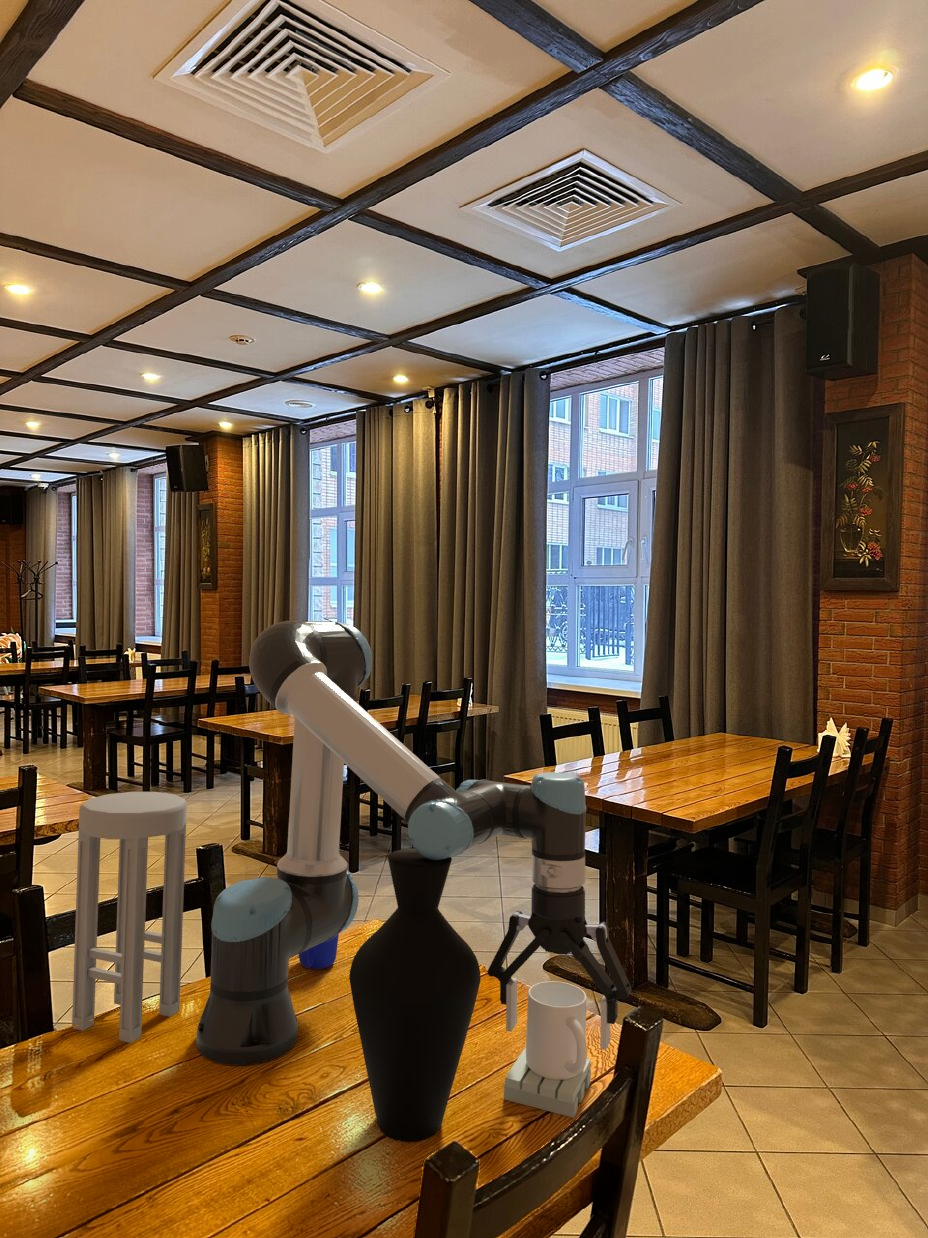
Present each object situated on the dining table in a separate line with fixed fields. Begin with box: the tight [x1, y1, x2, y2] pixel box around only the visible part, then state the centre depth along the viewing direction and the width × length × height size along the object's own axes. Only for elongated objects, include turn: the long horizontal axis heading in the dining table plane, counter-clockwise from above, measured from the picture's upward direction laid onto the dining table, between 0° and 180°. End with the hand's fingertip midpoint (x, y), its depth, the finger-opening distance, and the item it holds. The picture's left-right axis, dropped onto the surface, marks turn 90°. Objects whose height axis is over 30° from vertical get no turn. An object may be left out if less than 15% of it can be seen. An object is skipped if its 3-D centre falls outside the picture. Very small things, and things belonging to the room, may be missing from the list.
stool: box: [71, 791, 188, 1044], centre depth 135 cm, size 16×16×35 cm
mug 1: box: [298, 933, 340, 970], centre depth 157 cm, size 8×12×10 cm
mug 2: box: [525, 980, 588, 1080], centre depth 119 cm, size 12×8×10 cm
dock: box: [503, 1046, 592, 1119], centre depth 120 cm, size 10×10×3 cm
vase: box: [348, 847, 481, 1143], centre depth 111 cm, size 17×17×35 cm
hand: (557, 1036), depth 119 cm, fingers open, 13 cm apart
